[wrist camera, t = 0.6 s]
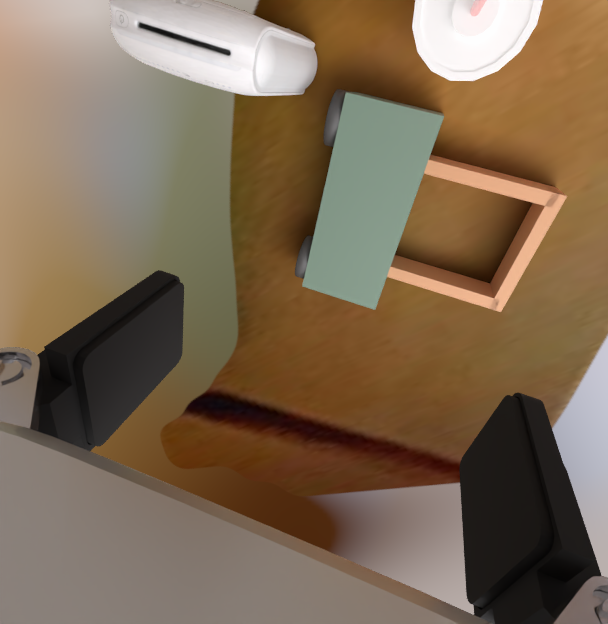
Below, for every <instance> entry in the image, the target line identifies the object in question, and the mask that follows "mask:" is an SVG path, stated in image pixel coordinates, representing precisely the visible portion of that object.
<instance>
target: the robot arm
mask: <svg viewBox="0 0 608 624" xmlns="http://www.w3.org/2000/svg"><path fill="white" fill-rule="evenodd" d="M183 305H184V285H183V284H182V283H180V280H179V277H177V276H175V275H172V274H169V273H166V272H163V271H159V270H158V271H156V272H154V273H153V274H152V275H150V276H149V277H147V278H146V279H144V280H143V281H141V282H140V283H138V284H137V285H135V286H134V287H132V288H131V289H129V290H128V291H126V292H125V293H123V294H122V295H120V296H119V297H117V298H116V299H114V300H113V301H112V302H110V303H109V304H107V305H106V306H104V307H103V308H101V309H100V310H98V311H97V312H95V313H94V314H92V315H91V316H89V317H88V318H86V319H85V320H83V321H82V322H81V323H79V324H77V325H76V326H74V327H73V328H72V329H70V330H69V331H67V332H66V333H64V334H63V335H61V336H60V337H58V338H57V339H55V340H54V341H52V342H51V343H50V344H48V345H46V346H45V347H44V348H45V350H44V351H42V352H41V353H39V354H38V355H36V354H35V353H34V352H32V351H30V350H28V349H24V348H17V347H7V348H1V349H0V624H608V578H607V577H604V576H601V573H600V570H599V567H598V564H597V560H596V557H595V554H594V551H593V548H592V545H591V542H590V539H589V537H588V533H587V530H586V527H585V524H584V521H583V518H582V515H581V512H580V509H579V506H578V503H577V500H576V497H575V494H574V491H573V488H572V485H571V482H570V479H569V476H568V473H567V470H566V468H565V466H564V464H563V461H562V458H561V455H560V452H559V450H558V446H557V444H556V440H555V437H554V434H553V431H552V428H551V425H550V422H549V419H548V416H547V413H546V410H545V407H544V404H543V402H542V401H541V400H539V399H536V398H533V397H530V396H527V395H524V394H521V393H515V394H514V395H513V396H510V395H507V396H505V397H504V399H503V400H502V401H501V403H500V404H499V406H498V407H497V409H496V410H495V411H494V413H493V414H492V416H491V417H490V419H489V420H488V421H487V423H486V424H485V426H484V427H483V429H482V430H481V431H480V433H479V434H478V436H477V437H476V439H475V440H474V441H473V443H472V444H471V446H470V447H469V448H468V450H467V451H466V453H465V454H464V456H463V457H462V460H461V463H460V486H461V504H462V521H463V538H464V557H465V574H466V592H467V599H468V601H469V602H470V603H471V604H473V605H474V615H472V614H470V613H468V612H466V611H463V610H461V609H459V608H457V607H455V606H452V605H450V604H448V603H446V602H443V601H441V600H439V599H437V598H434V597H432V596H430V595H428V594H425V593H423V592H421V591H419V590H416V589H414V588H412V587H410V586H407V585H405V584H402V583H400V582H398V581H396V580H393V579H391V578H389V577H386V576H384V575H382V574H379V573H377V572H375V571H372V570H370V569H367V568H365V567H363V566H361V565H358V564H356V563H354V562H351V561H349V560H347V559H344V558H342V557H340V556H337V555H335V554H333V553H330V552H328V551H326V550H324V549H321V548H319V547H316V546H314V545H312V544H309V543H307V542H305V541H302V540H300V539H298V538H295V537H293V536H291V535H288V534H286V533H284V532H281V531H279V530H277V529H274V528H272V527H269V526H267V525H265V524H262V523H260V522H258V521H255V520H253V519H251V518H248V517H246V516H243V515H241V514H239V513H236V512H234V511H232V510H229V509H227V508H225V507H222V506H220V505H217V504H215V503H213V502H210V501H208V500H206V499H203V498H201V497H199V496H196V495H194V494H192V493H189V492H187V491H184V490H182V489H179V488H177V487H175V486H172V485H170V484H168V483H165V482H163V481H160V480H158V479H156V478H153V477H151V476H148V475H146V474H144V473H141V472H139V471H136V470H134V469H131V468H129V467H127V466H124V465H122V464H120V463H117V462H115V461H112V460H110V459H108V458H105V457H103V456H100V455H98V454H95V453H93V452H90V451H91V450H92V449H93V448H94V447H95V446H101V445H103V444H104V443H105V442H106V440H108V438H109V437H110V436H111V435H112V434H113V433H114V432H115V431H116V429H118V428H119V426H120V425H121V424H122V423H123V422H124V421H125V420H126V419H127V418H128V417H129V416H130V415H131V413H132V412H133V411H134V410H135V409H136V408H137V407H138V406H139V405H140V404H141V403H142V402H143V400H144V399H145V398H146V397H147V396H148V395H149V394H150V393H151V392H152V391H153V390H154V389H155V387H156V386H157V385H158V384H159V383H160V382H161V381H162V380H163V379H164V378H165V377H166V375H167V374H168V373H169V372H170V371H171V370H172V369H173V368H174V367H175V366H176V365H177V363H178V362H179V360H180V358H181V356H182V344H183V343H182V342H183Z"/></svg>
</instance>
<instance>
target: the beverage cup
mask: <svg viewBox="0 0 608 624" xmlns="http://www.w3.org/2000/svg"><path fill="white" fill-rule="evenodd" d="M542 2H543V0H415V8H414V16H413V25H412V29H413V33H414V38H415V42H416V47H417V51H418V54H419V55H420V56H421V58H422V59H423V60H424V62H425V63H426V64H427V66H428V67H429V69H430V70H431V71H432V72H434V73H436V74H438V75H440V76H442V77H444V78H446V79H448V80H450V81H474V80H477V79H479V78H482V77H484V76H486V75H489V74H491V73H494V72H496V71H498V70H499V69H501V68H502V67H503V66H504V65H505V64H506V63H507V62H509V61H510V60H511V59H512V58H513V57H514V56H515V55H517V54H518V53H519V52H520V51H521V49H522V48H523V46H524V44H525V43H526V41H527V39H528V38H529V36H530V35H531V33H532V31H533V30H534V28H535V26H536V25H537V22H538V18H539V14H540V10H541V6H542Z"/></svg>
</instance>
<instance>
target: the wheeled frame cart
mask: <svg viewBox="0 0 608 624" xmlns="http://www.w3.org/2000/svg"><path fill="white" fill-rule="evenodd" d="M443 118H444V115H443V113H440V112H436V111H432V110H428V109H423V108H419V107H415V106H411V105H407V104H403V103H399V102H395V101H391V100H387V99H383V98H379V97H374V96H370V95H366V94H362V93H358V92H349V91H345V90H341V89H337V90H336V91H335V93H334V95H333V97H332V100H331V103H330V106H329V109H328V113H327V117H326V122H325V129H324V144H325V145H327V146H331V147H333V152H332V156H331V161H330V165H329V170H328V174H327V178H326V183H325V187H324V192H323V196H322V201H321V205H320V210H319V214H318V219H317V223H316V228H315V232H314V236H313V237H312V236H309V235H308V236H307V237H306V238H305V240H304V242H303V244H302V246H301V249H300V252H299V255H298V259H297V263H296V268H295V275H296V276H297V277H300V278H303V279H304V281H303V287H306V288H309V289H312V290H315V291H319V292H322V293H325V294H328V295H331V296H334V297H337V298H340V299H343V300H346V301H349V302H352V303H356V304H359V305H362V306H365V307H368V308H371V309H374V310H375V308H376V306H377V303H378V300H379V297H380V294H381V292H382V289H383V286H384V283H385V280H386V278H387V277H390V278H393V279H396V280H399V281H403V282H406V283H409V284H412V285H415V286H419V287H422V288H425V289H428V290H432V291H435V292H438V293H441V294H444V295H448V296H451V297H454V298H457V299H460V300H464V301H467V302H470V303H473V304H477V305H480V306H483V307H486V308H489V309H493V310H496V311H499V312H501V311H502V309H503V307H504V305H505V304H506V302H507V300H508V299H509V297H510V295H511V293H512V292H513V290H514V288H515V286H516V285H517V283H518V281H519V279H520V278H521V276H522V274H523V272H524V271H525V269H526V267H527V265H528V264H529V262H530V260H531V258H532V257H533V255H534V253H535V251H536V250H537V248H538V246H539V244H540V243H541V241H542V239H543V237H544V236H545V234H546V232H547V230H548V229H549V227H550V225H551V223H552V222H553V220H554V218H555V216H556V215H557V213H558V211H559V210H560V208H561V206H562V204H563V203H564V201H565V199H566V197H567V196H566V195H565V194H564V193H563V192H561V191H560V190H559V189H558V188H556V187H553V186H549V185H545V184H542V183H538V182H534V181H530V180H526V179H522V178H519V177H515V176H511V175H507V174H503V173H499V172H496V171H492V170H488V169H484V168H480V167H476V166H473V165H469V164H465V163H461V162H457V161H453V160H450V159H446V158H442V157H438V156H434V155H430V154H431V152H432V149H433V146H434V143H435V140H436V138H437V135H438V132H439V129H440V126H441V124H442V121H443ZM423 174H428V175H432V176H435V177H439V178H443V179H446V180H450V181H454V182H458V183H461V184H465V185H469V186H472V187H476V188H480V189H484V190H487V191H491V192H495V193H499V194H502V195H506V196H510V197H513V198H517V199H521V200H525V201H528V202H532V205H531V207H530V209H529V211H528V213H527V215H526V216H525V218H524V220H523V222H522V224H521V226H520V228H519V230H518V232H517V234H516V235H515V237H514V239H513V241H512V243H511V245H510V247H509V249H508V251H507V252H506V254H505V256H504V258H503V260H502V262H501V264H500V266H499V268H498V269H497V271H496V273H495V275H494V277H493V279H492V281H491V283H487V282H483V281H480V280H477V279H474V278H470V277H467V276H464V275H460V274H457V273H454V272H450V271H447V270H444V269H440V268H437V267H434V266H430V265H427V264H424V263H420V262H417V261H414V260H410V259H407V258H404V257H401V256H397V255H395V252H396V250H397V247H398V244H399V241H400V238H401V236H402V233H403V230H404V227H405V224H406V222H407V219H408V216H409V213H410V210H411V208H412V205H413V202H414V199H415V196H416V194H417V191H418V188H419V185H420V182H421V180H422V177H423Z"/></svg>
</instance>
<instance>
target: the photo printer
mask: <svg viewBox="0 0 608 624" xmlns="http://www.w3.org/2000/svg"><path fill="white" fill-rule="evenodd" d="M109 5H110V10H111V23H110V28H111V31H112V34H113V36H114V38H115V40H116V41H117V43H118V44H119V46H120V47H121V48H122V49H123V50H125V51H126V52H127V53H128V54H130V55H131V56H133V57H134V58H136V59H137V60H140V61H141V62H143V63H145V64H147V65H150V66H152V67H155V68H157V69H160V70H162V71H165V72H167V73H170V74H173V75H176V76H179V77H182V78H185V79H188V80H191V81H194V82H197V83H200V84H204V85H207V86H210V87H214V88H218V89H221V90H225V91H229V92H233V93H237V94H242V95H251V96H273V95H301V94H303V93H304V92H305V88H307V87H308V86H309V85H310V84H311V83H312V81H313V79H314V77H315V74H316V71H317V56H316V52H315V50H314V47H315V43H314V42H312V41H311V40H310V39H308V38H307V37H305V36H303V35H301V34H299V33H296V32H294V31H291V30H290V29H288V28H287V29H286V28H283V27H281V26H278V25H276V24H273V23H271V22H269V21H266V20H264V19H262V18H259V17H257V16H255V15H253V14H250V13H248V12H246V11H245V10H240V9H237V8H235V7H232V6H229V5H226V4H223V3H220V2H217V1H214V0H110V1H109Z"/></svg>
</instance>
